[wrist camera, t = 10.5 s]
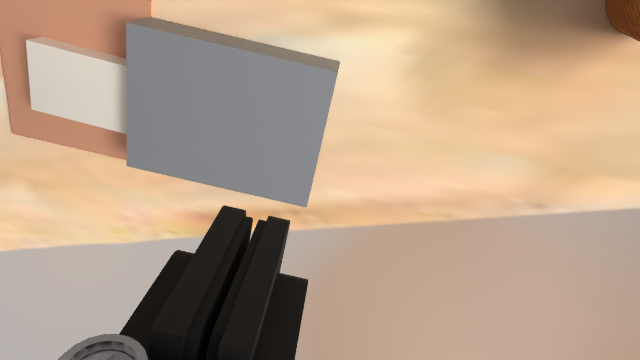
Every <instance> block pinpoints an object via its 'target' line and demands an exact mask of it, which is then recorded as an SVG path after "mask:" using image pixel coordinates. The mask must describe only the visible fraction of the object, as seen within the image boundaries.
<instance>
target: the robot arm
mask: <svg viewBox="0 0 640 360" xmlns="http://www.w3.org/2000/svg"><path fill="white" fill-rule="evenodd" d="M252 222H253V218H251V217H246V210H242V209H237V208H233V207H229V206H223V207H222V208H221V210H220V212H219V213H218V215H217V217H216V218H215V220H214V222H213V223H212V225H211V227H210V228H209V230H208V232H207V234H206V235H205V237H204V239H203V240H202V242H201V244H200V246H199V247H198V249H197V250H196V252H195V254H194V253H189V252H185V251H180V250H177V251H175V252H174V254H173V255H172V256H171V258H170V259H169V261H168V262H167V264H166V265H165V266H164V268H163V269H162V271H161V272H160V274H159V276H158V277H157V279H156V280H155V282H154V283H153V284H152V286H151V288H150V289H149V291H148V292H147V293H146V295H145V297H144V298H143V299H142V301H141V302H140V304H139V305H138V307H137V308H136V310H135V311H134V313H133V314H132V316H131V317H130V319H129V320H128V322H127V323H126V325H125V326H124V328H123V329H122V331H121V332H120V334H104V335H99V336H95V337H91V338H88V339H86V340H84V341H82V342H80V343H78V344H76V345H74V346H73V347H72V348H71V349H69V350H68V351H67V352H65V353H64V354H63V355H62V356H61V357H60V358H59V359H58V360H295V353H296V348H297V342H298V336H299V331H300V325H301V320H302V314H303V308H304V302H305V296H306V291H307V285H308V280H307V279H303V278H299V277H295V276H290V275H286V274H281V273H279V272H280V268H281V263H282V258H283V253H284V249H285V244H286V239H287V235H288V230H289V225H290V220H285V219H281V218H277V217H272V216H269V217H268V219H267V221H264V220H259V221H258V223H257V225H256V228H255V230H254V232H253V235H252V237H251V240H250V235H251V229H252ZM249 241H250V242H249Z"/></svg>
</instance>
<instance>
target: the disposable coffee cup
mask: <svg viewBox="0 0 640 360" xmlns="http://www.w3.org/2000/svg"><path fill="white" fill-rule="evenodd" d="M606 11H607V15H608V18H609V20H610V22H611V24H612V25H613V26H614V27H615V28H616V29H618V30H619V31H620V32H622V33H624V34H626V35H628V36H630V37H632V38H634V39H636V40H638V41H640V0H606Z"/></svg>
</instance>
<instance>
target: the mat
mask: <svg viewBox="0 0 640 360" xmlns="http://www.w3.org/2000/svg"><path fill="white" fill-rule="evenodd" d="M149 17H151V0H0V48H1V55H2V62H3V70H4V77H5V84H6V91H7V99H8V106H9V113H10V120H11V128H12V134H16V135H21V136H25V137H29V138H34V139H38V140H42V141H47V142H51V143H55V144H60V145H64V146H68V147H73V148H77V149H81V150H86V151H90V152H94V153H99V154H103V155H108V156H112V157H116V158H121V159H125V160H127V134H124V133H120V132H116V131H112V130H109V129H105V128H101V127H97V126H93V125H89V124H85V123H82V122H78V121H74V120H70V119H66V118H62V117H59V116H55V115H51V114H47V113H43V112H39V111H35V110H32V109H31V98H30V85H29V73H28V61H27V48H26V40H28V39H33V38H37V37H42V36H43V37H47V38H50V39H54V40H58V41H62V42H66V43H69V44H73V45H77V46H81V47H84V48H88V49H92V50H96V51H100V52H103V53H107V54H111V55H115V56H118V57H122V58H126V23H127V22H131V21H136V20H140V19H145V18H149Z"/></svg>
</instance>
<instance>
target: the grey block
mask: <svg viewBox="0 0 640 360" xmlns="http://www.w3.org/2000/svg"><path fill="white" fill-rule="evenodd" d="M339 64H340V62H339V61H335V60H330V59H326V58H322V57H318V56H313V55H309V54H305V53H301V52H296V51H292V50H288V49H284V48H279V47H275V46H271V45H267V44H262V43H258V42H254V41H250V40H245V39H241V38H237V37H233V36H228V35H224V34H220V33H216V32H211V31H207V30H203V29H199V28H194V27H190V26H186V25H182V24H177V23H173V22H169V21H165V20H160V19H156V18H152V17H149V18H145V19H140V20H136V21H131V22H127V23H126V84H127V166H129V167H133V168H137V169H142V170H146V171H150V172H155V173H159V174H163V175H168V176H172V177H177V178H181V179H185V180H190V181H194V182H198V183H203V184H207V185H211V186H216V187H220V188H224V189H229V190H233V191H237V192H242V193H246V194H250V195H255V196H259V197H263V198H268V199H272V200H277V201H281V202H285V203H290V204H294V205H298V206H303V207H307V203H308V199H309V195H310V190H311V186H312V182H313V177H314V173H315V169H316V164H317V160H318V156H319V151H320V147H321V143H322V138H323V134H324V130H325V125H326V121H327V116H328V112H329V108H330V103H331V99H332V95H333V90H334V86H335V82H336V77H337V73H338V69H339Z"/></svg>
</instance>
